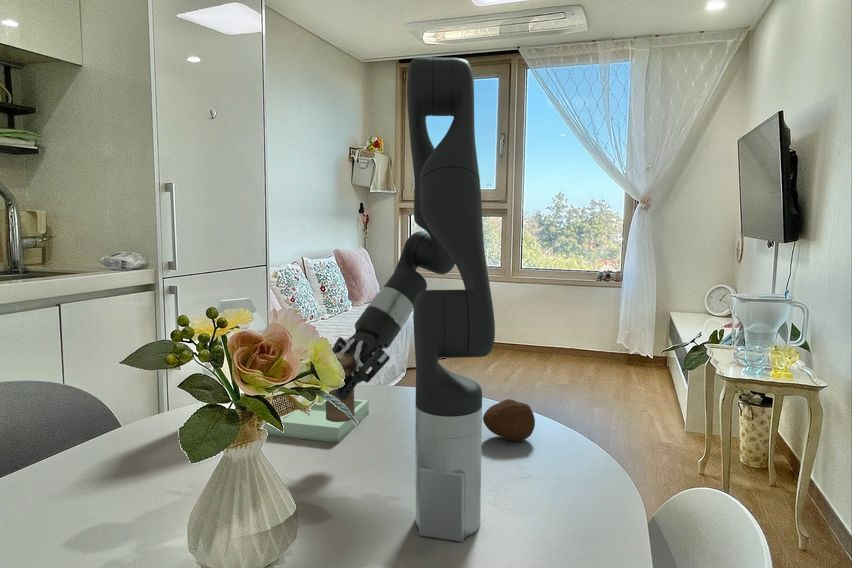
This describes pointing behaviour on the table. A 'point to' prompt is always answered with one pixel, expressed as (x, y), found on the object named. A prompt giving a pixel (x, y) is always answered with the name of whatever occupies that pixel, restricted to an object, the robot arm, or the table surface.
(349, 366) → the pepper mill
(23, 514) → the table surface
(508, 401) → the potato
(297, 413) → the bin
